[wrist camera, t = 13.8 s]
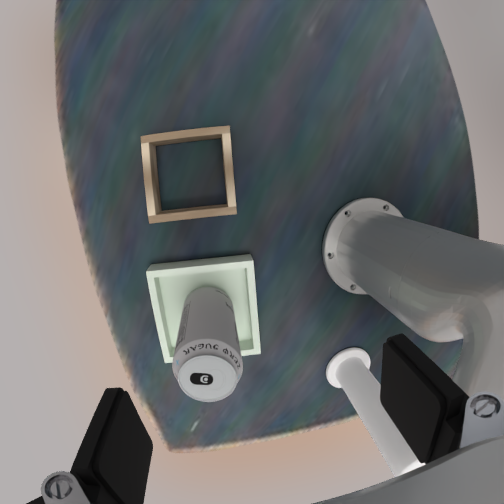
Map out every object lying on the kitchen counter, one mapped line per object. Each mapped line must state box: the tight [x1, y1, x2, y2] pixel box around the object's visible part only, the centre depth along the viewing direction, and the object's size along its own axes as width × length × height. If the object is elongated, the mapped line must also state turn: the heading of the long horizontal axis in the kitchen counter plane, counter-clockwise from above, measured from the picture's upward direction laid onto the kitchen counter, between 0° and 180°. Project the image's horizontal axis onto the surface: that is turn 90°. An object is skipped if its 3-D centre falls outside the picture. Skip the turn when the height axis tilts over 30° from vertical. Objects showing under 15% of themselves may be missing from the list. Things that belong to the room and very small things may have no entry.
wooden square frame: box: [141, 126, 237, 224], centre depth 33 cm, size 9×9×4 cm
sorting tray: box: [146, 254, 261, 363], centre depth 38 cm, size 12×12×3 cm
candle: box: [326, 347, 426, 477], centre depth 32 cm, size 7×7×25 cm
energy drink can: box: [172, 287, 243, 402], centre depth 31 cm, size 6×6×15 cm
